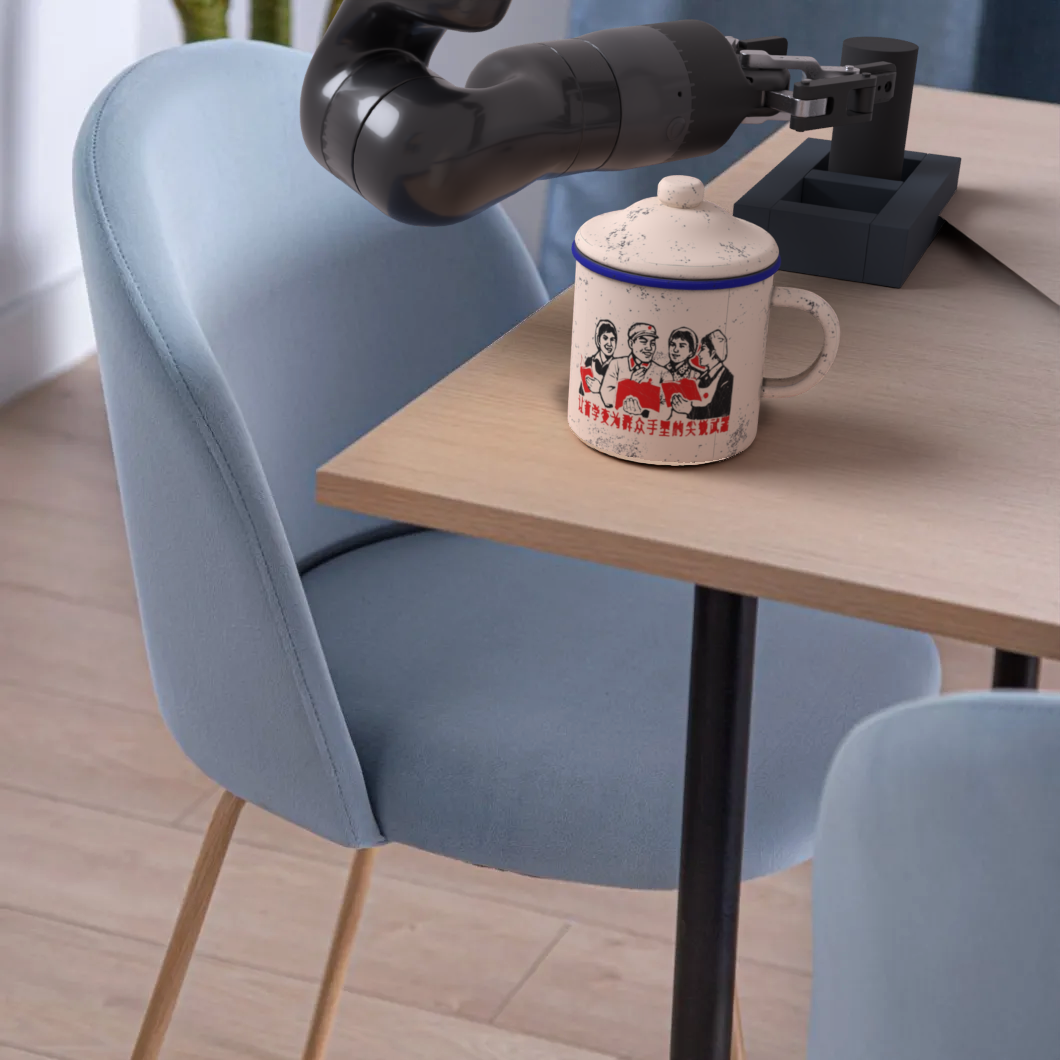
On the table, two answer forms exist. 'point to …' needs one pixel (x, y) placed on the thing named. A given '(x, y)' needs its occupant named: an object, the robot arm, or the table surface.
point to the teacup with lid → (679, 328)
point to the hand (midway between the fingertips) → (834, 66)
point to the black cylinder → (877, 113)
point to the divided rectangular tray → (851, 214)
